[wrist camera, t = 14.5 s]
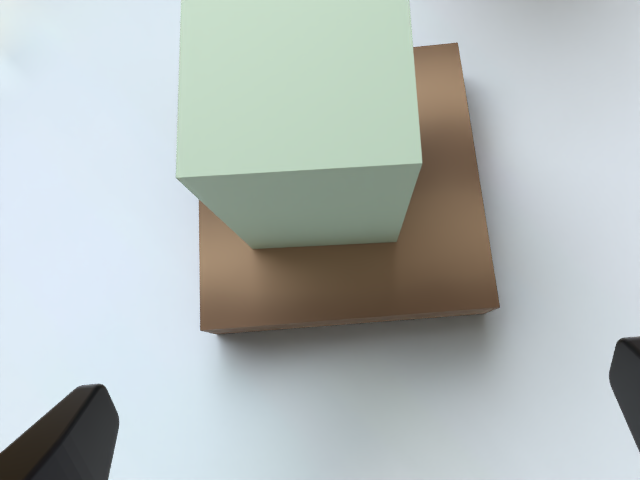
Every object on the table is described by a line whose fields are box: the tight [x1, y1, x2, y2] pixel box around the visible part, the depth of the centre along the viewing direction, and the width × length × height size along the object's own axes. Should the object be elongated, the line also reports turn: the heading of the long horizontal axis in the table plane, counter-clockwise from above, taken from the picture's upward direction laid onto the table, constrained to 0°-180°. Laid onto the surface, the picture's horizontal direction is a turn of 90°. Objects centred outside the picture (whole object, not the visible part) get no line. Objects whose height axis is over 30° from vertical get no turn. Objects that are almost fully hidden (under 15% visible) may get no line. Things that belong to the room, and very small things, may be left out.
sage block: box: [176, 0, 422, 249], centre depth 17 cm, size 6×6×9 cm
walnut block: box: [199, 43, 500, 334], centre depth 23 cm, size 12×12×3 cm
